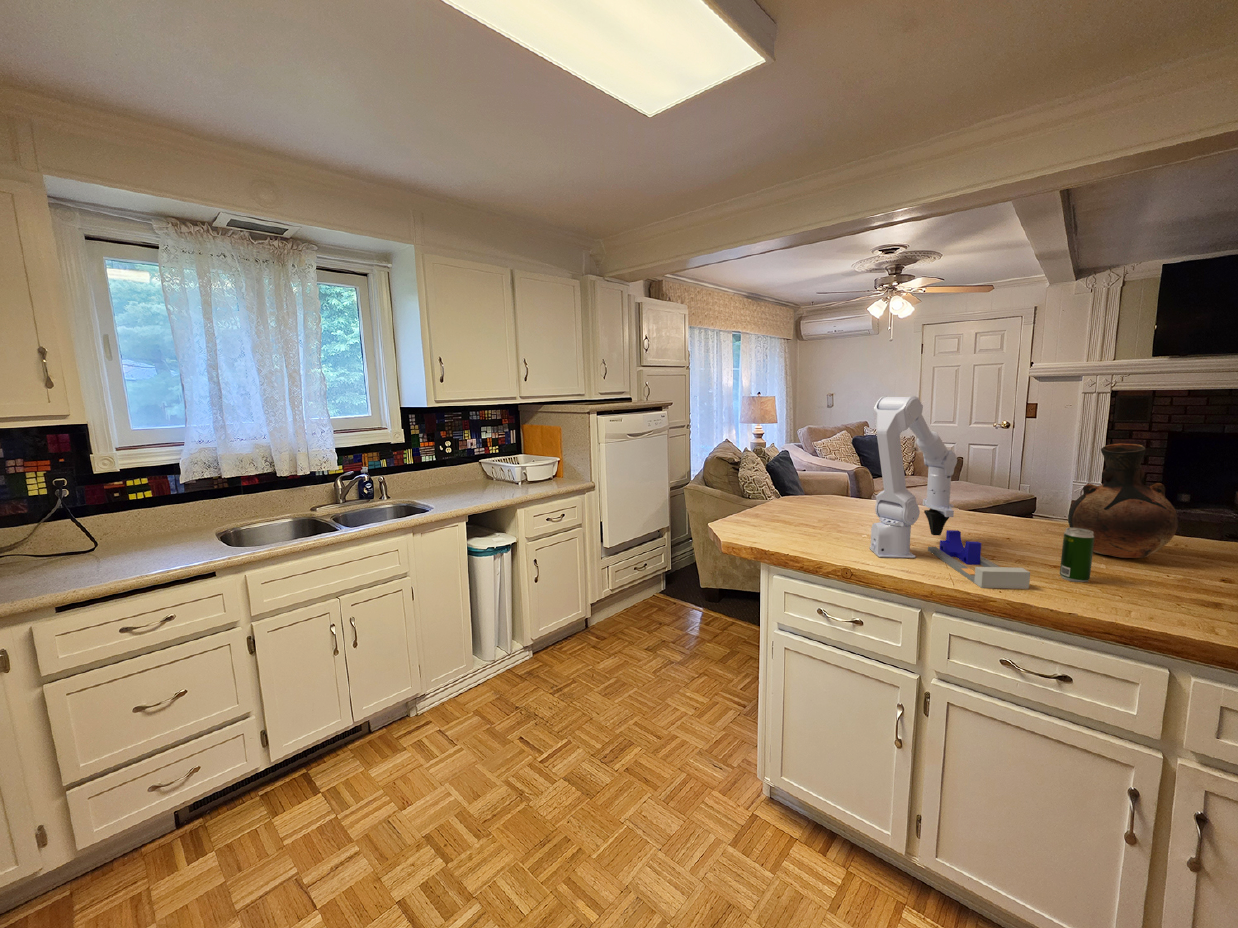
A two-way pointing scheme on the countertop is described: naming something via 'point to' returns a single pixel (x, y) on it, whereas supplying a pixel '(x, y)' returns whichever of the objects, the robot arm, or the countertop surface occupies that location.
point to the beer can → (1077, 554)
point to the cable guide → (988, 572)
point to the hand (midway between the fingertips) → (935, 534)
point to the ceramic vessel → (1125, 507)
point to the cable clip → (961, 548)
